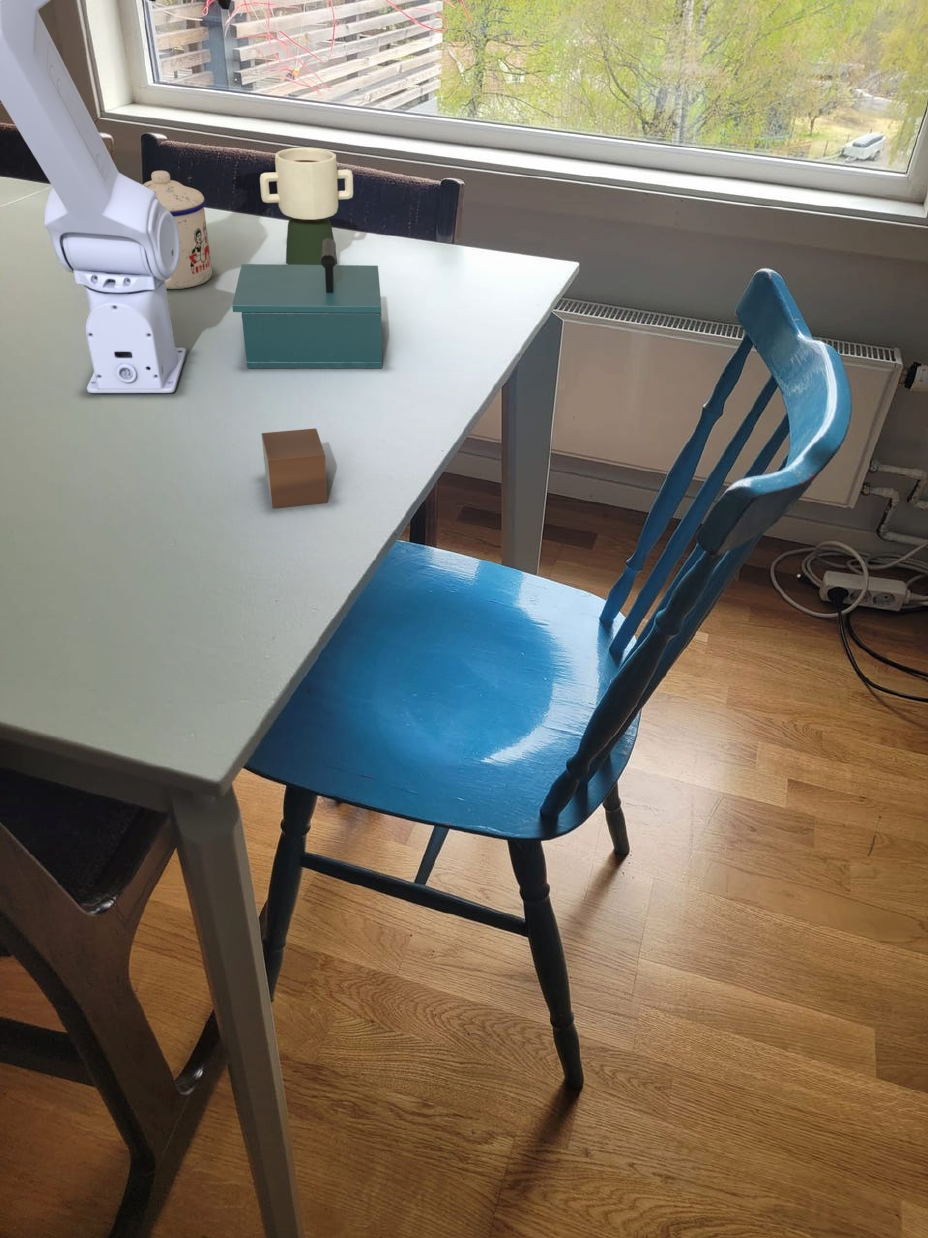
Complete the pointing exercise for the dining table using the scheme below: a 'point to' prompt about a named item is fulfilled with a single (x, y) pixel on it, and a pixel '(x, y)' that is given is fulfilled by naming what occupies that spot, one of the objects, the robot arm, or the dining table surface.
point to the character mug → (306, 199)
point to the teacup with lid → (185, 230)
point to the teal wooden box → (312, 340)
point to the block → (294, 467)
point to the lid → (309, 287)
